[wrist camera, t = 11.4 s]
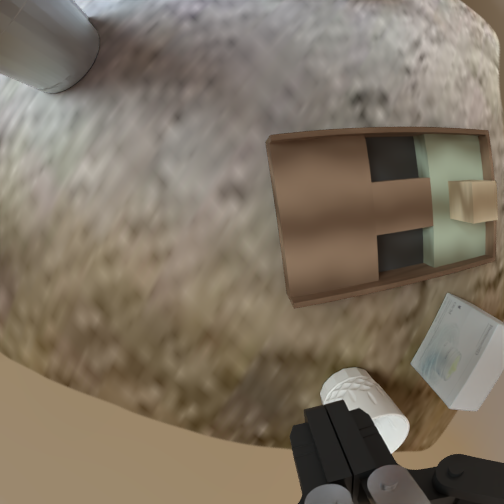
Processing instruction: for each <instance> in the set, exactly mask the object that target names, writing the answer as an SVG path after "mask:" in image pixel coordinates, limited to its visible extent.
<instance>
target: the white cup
mask: <svg viewBox="0 0 504 504" xmlns="http://www.w3.org/2000/svg"><path fill="white" fill-rule="evenodd" d="M320 395H321V401H322V405H323V406H324V404H328V403H331V402H335V401H339V400H342V399H343V400H344V402H345V403H346V405H347V407H348V409H349V411H351V410H354V409H357V408H360V409H362V410H363V411H364V412H366V413H367V414H369V415H370V417H371V419H372V421H373V422H374V424H375V426H376V428H377V429H378V431H379V434H380V435H381V436H382V438H383V440H384V442H385V444H386V445H387V447H388V449H389V451H390V452H391V454H392V453H393V452H394V451H395V450H397V449H398V448H399V447H400V445H401V444H402V443H403V442H404V440H405V439H406V437H407V435H408V432H409V428H410V425H409V421H408V419H407V418H406V417H405V415H404V414H403V413H402V412H401V410H400V409H399V408H398V407H397V406H396V404H395V403H394V402H393V401H392V399H391V398H390V397H389V396H388V394H387V393H386V392H385V391H384V390H383V389H382V388H381V387H380V385H379V384H378V383H376V382H375V381H374V380H373V379H372V377H371V376H370V375H369V374H368V372H367V371H366V370H364V369H360V368H357V367H352V368H345V369H342V370H340V371H338V372H337V373H335V374H333V375H332V376H331V377H330V378H329V379H328V380H327V381H326V382H325V383H324V385H323V387H322V390H321V392H320Z"/></svg>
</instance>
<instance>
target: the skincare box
mask: <svg viewBox="0 0 504 504" xmlns="http://www.w3.org/2000/svg"><path fill="white" fill-rule="evenodd" d="M410 364H411V365H412V366H413V367H414V369H415V370H416V371H417V372H418V373H419V374H420V375H421V376H422V377H423V379H424V380H425V381H426V382H427V383H428V384H429V385H430V387H431V388H432V389H433V390H434V391H435V392H436V393H437V395H438V396H439V397H440V398H441V399H442V400H443V402H444V403H445V404H446V405H447V406H448V408H449V409H454V410H465V411H478V409H479V408H480V406H481V405H482V404H483V402H484V401H485V399H486V398H487V396H488V394H489V393H490V391H491V390H492V388H493V387H494V385H495V383H496V382H497V380H498V378H499V377H500V375H501V374H502V372H503V370H504V322H502V321H500V320H499V319H497V318H495V317H494V316H492V315H490V314H489V313H487V312H485V311H484V310H482V309H480V308H478V307H477V306H475V305H474V304H472V303H470V302H468V301H466V300H463V299H461V298H459V297H457V296H455V295H453V294H451V293H447V294H446V297H445V299H444V301H443V303H442V305H441V307H440V309H439V311H438V313H437V315H436V317H435V319H434V321H433V323H432V325H431V327H430V329H429V331H428V333H427V335H426V337H425V338H424V340H423V342H422V344H421V346H420V347H419V349H418V351H417V353H416V354H415V356H414V358H413V360H412V361H411V363H410Z"/></svg>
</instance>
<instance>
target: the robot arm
mask: <svg viewBox="0 0 504 504" xmlns="http://www.w3.org/2000/svg"><path fill="white" fill-rule="evenodd" d="M98 49H99V35H98V32H97V31H96V29H95V28H94V27H93V25H92V24H91V23H90V22H89V21H88V16H87V15H86V14H85V13H84V12H83V11H82V10H81V8H80V7H79V6H78V5H77V4H76V3H75V2H74V1H73V0H0V74H3V75H5V76H8V77H10V78H12V79H15V80H17V81H20V82H22V83H24V84H26V85H29V86H31V87H33V88H36V89H38V90H40V91H43V92H46V93H57V92H61V91H64V90H66V89H68V88H70V87H71V86H73V85H74V84H75V83H77V82H78V81H79V80H80V79H81V78H82V77H83V76H84V75H85V74H86V73H87V71H88V70H89V69H90V68H91V66H92V64H93V62H94V61H95V58H96V56H97V53H98ZM304 416H305V423H303V424H298V425H294V426H293V428H292V431H291V434H290V440H291V445H292V451H293V456H294V461H295V465H296V469H297V473H298V478H299V482H300V486H301V490H302V498H301V500H300V502H299V503H298V504H504V463H500V462H495V461H490V460H485V459H481V458H476V457H471V456H467V455H463V454H454V455H450V456H448V457H446V458H444V459H443V460H442V461H441V462H440V463H439V464H438V466H437V467H433V468H427V469H421V470H409V469H406V468H404V467H402V466H400V465H398V464H397V463H396V461H395V460H394V458H393V456H392V454H391V452H390V451H389V449H388V447H387V445H386V444H385V442H384V440H383V438H382V436H381V435H380V434H379V431H378V429H377V428H376V426H375V424H374V422H373V421H372V419H371V417H370V415H369V414H367V413H366V412H364V411H363V410H362V409H360V408H357V409H354V410H351V411H349V409H348V407H347V405H346V403H345V402H344V400H343V399H342V400H339V401H335V402H331V403H328V404H324V406H323V405H321V406H317V407H313V408H309V409H304Z"/></svg>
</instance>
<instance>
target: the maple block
mask: <svg viewBox="0 0 504 504" xmlns="http://www.w3.org/2000/svg"><path fill="white" fill-rule="evenodd" d="M448 189H449V204H450V219H454V220H459V221H463V222H468V223H473V224H475V223H481V222H487V221H493V220H498V212H497V188H496V181H489V180H459V181H448Z"/></svg>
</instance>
